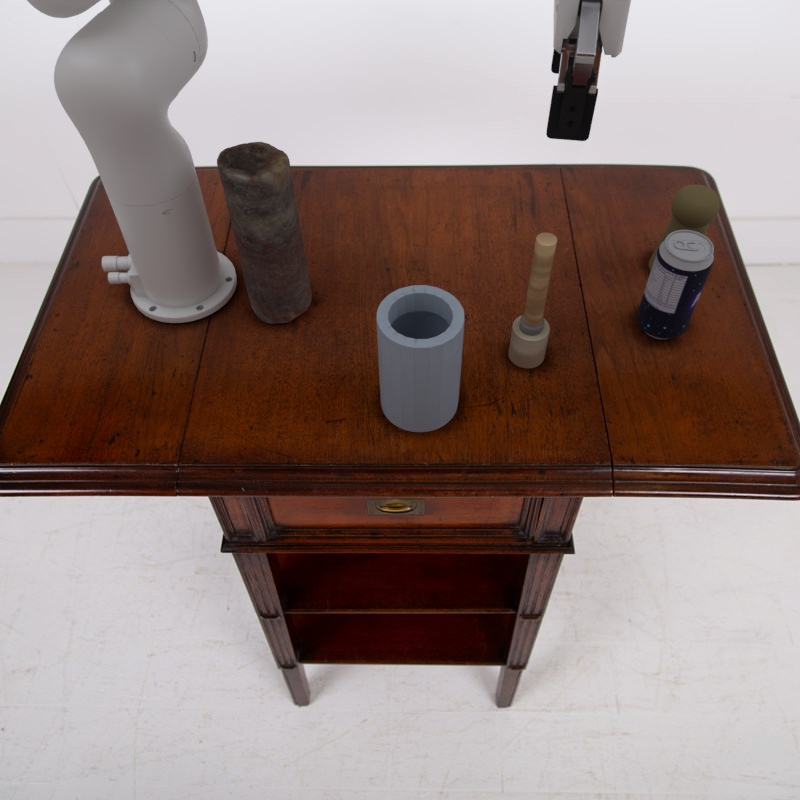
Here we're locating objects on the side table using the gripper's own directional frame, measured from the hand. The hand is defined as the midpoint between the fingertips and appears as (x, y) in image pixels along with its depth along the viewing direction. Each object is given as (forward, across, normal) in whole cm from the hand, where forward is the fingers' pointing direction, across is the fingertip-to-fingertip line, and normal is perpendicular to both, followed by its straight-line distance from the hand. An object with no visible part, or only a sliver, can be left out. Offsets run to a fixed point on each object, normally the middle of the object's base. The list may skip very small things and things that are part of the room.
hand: (568, 103), depth 61 cm
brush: (+30, 0, 0) cm, 30 cm away
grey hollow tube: (+30, -8, +11) cm, 33 cm away
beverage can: (+31, +7, -15) cm, 35 cm away
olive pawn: (+31, +17, -17) cm, 39 cm away
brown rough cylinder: (+31, +4, +29) cm, 42 cm away
